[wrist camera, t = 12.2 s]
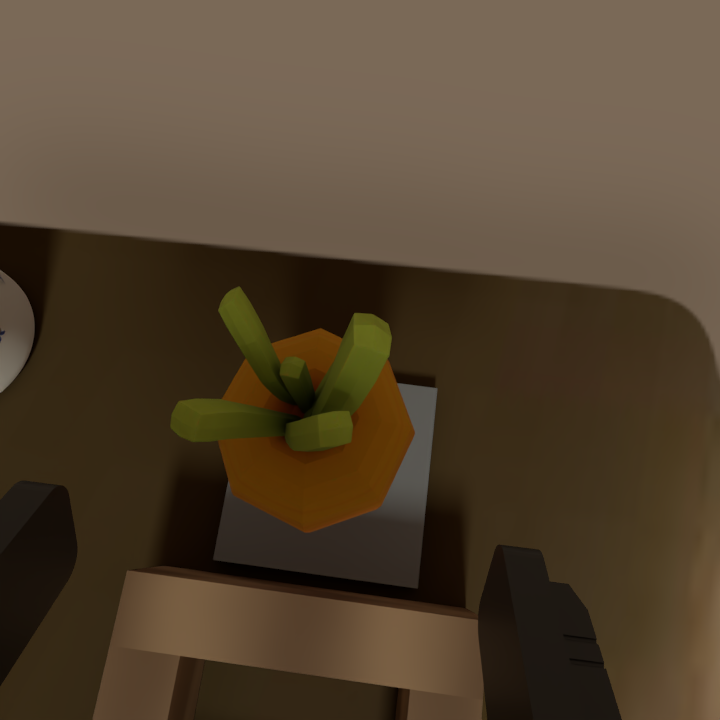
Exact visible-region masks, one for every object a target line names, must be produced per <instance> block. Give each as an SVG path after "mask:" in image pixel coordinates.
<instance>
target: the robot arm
mask: <svg viewBox="0 0 720 720" xmlns="http://www.w3.org/2000/svg"><path fill="white" fill-rule="evenodd" d="M76 557H77V540H76V534H75V528H74V522H73V516H72V511H71V505H70V499H69V494H68V491H67V489H66V488H65V487H64V486H61V485H53V484H45V483H38V482H30V481H20V482H18V483H16V484H15V485H14V486H13V487H12V488H11V489H10V490H9V491H8V492H7V493H6V494H5V495H4V497H3V498H2V499H1V500H0V686H1V684H2V683H3V681H4V679H5V678H6V676H7V675H8V673H9V672H10V670H11V669H12V667H13V665H14V664H15V662H16V661H17V659H18V658H19V656H20V654H21V653H22V651H23V650H24V648H25V647H26V645H27V644H28V642H29V640H30V639H31V637H32V636H33V634H34V633H35V631H36V630H37V628H38V626H39V625H40V623H41V622H42V620H43V619H44V617H45V615H46V614H47V612H48V611H49V609H50V608H51V606H52V605H53V603H54V601H55V600H56V598H57V597H58V595H59V594H60V592H61V591H62V589H63V587H64V586H65V584H66V583H67V581H68V579H69V578H70V576H71V574H72V571H73V569H74V565H75V562H76ZM478 638H479V647H480V656H481V665H482V674H483V683H484V692H485V701H486V710H487V719H488V720H622V719H621V716H620V713H619V709H618V706H617V703H616V700H615V697H614V693H613V690H612V687H611V684H610V680H609V677H608V674H607V671H606V669H604V661H603V658H602V655H601V651H600V648H599V645H598V644H596V639H597V638H596V635H595V632H594V629H593V626H592V622H591V619H590V616H589V613H588V610H587V609H586V607H585V606H584V604H583V603H582V602H581V600H580V599H579V598H578V596H577V595H576V594H575V592H574V591H573V590H572V588H571V587H570V586H569V584H564V583H556V582H550V581H549V577H548V573H547V569H546V566H545V562H544V558H543V555H542V553H541V551H540V550H536V549H529V548H521V547H513V546H506V545H497V547H496V549H495V552H494V555H493V558H492V562H491V565H490V569H489V572H488V576H487V579H486V583H485V586H484V590H483V593H482V597H481V601H480V606H479V614H478Z"/></svg>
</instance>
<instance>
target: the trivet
mask: <svg viewBox="0 0 720 720" xmlns="http://www.w3.org/2000/svg"><path fill="white" fill-rule="evenodd" d="M397 385H398V387H399V390H400V393H401V395H402V398H403V401H404V404H405V406H406V409H407V412H408V414H409V417H410V420H411V423H412V425H413V428H414V431H415V435H414V438H413V440H412V442H411V444H410V446H409V448H408V450H407V452H406V455H405V457H404V459H403V461H402V463H401V465H400V467H399V469H398V472H397V474H396V476H395V478H394V480H393V482H392V484H391V486H390V489H389V491H388V493H387V495H386V497H385V499H384V501H383V503H382V506H380V507H379V508H378V509H376V510H373V511H371V512H368V513H365V514H362V515H359V516H356V517H353V518H350V519H348V520H345V521H342V522H339V523H336V524H333V525H330V526H327V527H325V528H322V529H319V530H316V531H313V532H310V533H304V532H303V531H301V530H299V529H297V528H295V527H293V526H291V525H289V524H287V523H285V522H283V521H281V520H280V519H278V518H276V517H274V516H272V515H270V514H268V513H266V512H264V511H262V510H260V509H258V508H257V507H255V506H253V505H251V504H249V503H247V502H245V501H243V500H241V499H239V498H237V497H235V496H234V495H233V494H232V492H231V488H230V484H229V480H228V485H227V490H226V495H225V500H224V505H223V510H222V516H221V521H220V526H219V531H218V536H217V541H216V547H215V552H214V557H213V560H217V561H224V562H231V563H238V564H246V565H253V566H260V567H267V568H274V569H281V570H288V571H295V572H303V573H310V574H317V575H324V576H331V577H338V578H345V579H352V580H360V581H367V582H374V583H381V584H388V585H395V586H402V587H409V588H417V589H418V582H419V572H420V561H421V551H422V541H423V530H424V520H425V510H426V500H427V489H428V479H429V469H430V458H431V448H432V438H433V428H434V417H435V407H436V397H437V388H431V387H423V386H416V385H408V384H400V383H397Z"/></svg>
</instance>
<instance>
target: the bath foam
mask: <svg viewBox="0 0 720 720" xmlns="http://www.w3.org/2000/svg"><path fill="white" fill-rule="evenodd" d="M34 332H35V323H34V315H33V311H32V308H31V305H30V302H29V300H28V298H27V296H26V295H25V293H24V292H23V290H22V289H21V288H20V287H19V285H18V284H17V283H16V282H15V281H14V280H13V279H11V278H10V277H9V276H8V275H6V274H5V273H4V272H3V271H1V270H0V393H1V392H2V391H3V390H4V389H5V388H7V387H8V386H9V385H10V384H11V382H12V381H13V380H14V379H15V378H16V377H17V375H18V374H19V373H20V371H21V370H22V368H23V366H24V365H25V363H26V361H27V359H28V357H29V354H30V351H31V348H32V345H33V340H34Z"/></svg>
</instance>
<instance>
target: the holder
mask: <svg viewBox="0 0 720 720" xmlns="http://www.w3.org/2000/svg"><path fill="white" fill-rule="evenodd" d="M205 660H212V661H219V662H226V663H233V664H240V665H246V666H253V667H260V668H267V669H274V670H281V671H288V672H294V673H301V674H308V675H315V676H322V677H329V678H336V679H343V680H349V681H356V682H363V683H370V684H377V685H384V686H391V687H397V688H398V697H397V707H396V717H395V720H482V704H483V688H484V683H483V674H482V665H481V656H480V647H479V638H478V615H476V614H475V613H473V612H471V611H470V610H468V609H466V608H461V607H454V606H446V605H439V604H432V603H425V602H418V601H411V600H404V599H397V598H390V597H383V596H376V595H368V594H361V593H354V592H347V591H340V590H333V589H326V588H319V587H312V586H305V585H298V584H290V583H283V582H276V581H269V580H262V579H255V578H248V577H241V576H234V575H227V574H220V573H212V572H205V571H198V570H191V569H184V568H177V567H170V566H158V567H150V568H142V569H134V570H127V574H126V578H125V582H124V586H123V591H122V595H121V599H120V604H119V608H118V612H117V617H116V621H115V625H114V629H113V634H112V638H111V642H110V647H109V651H108V655H107V659H106V664H105V668H104V672H103V677H102V681H101V685H100V690H99V694H98V698H97V702H96V707H95V711H94V715H93V720H194V715H195V710H196V705H197V700H198V694H199V689H200V684H201V678H202V673H203V668H204V662H205Z"/></svg>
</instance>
